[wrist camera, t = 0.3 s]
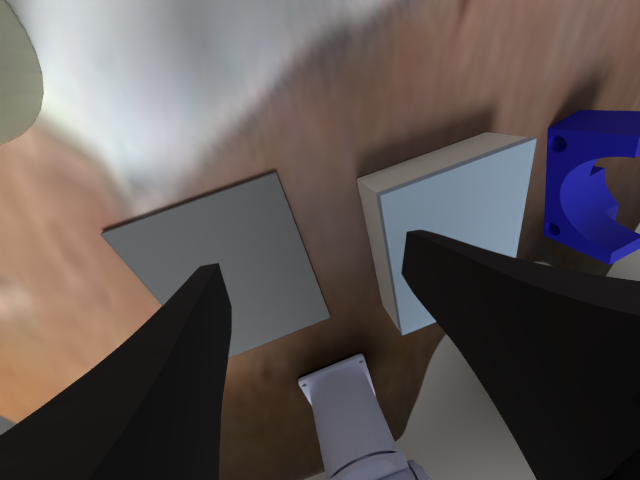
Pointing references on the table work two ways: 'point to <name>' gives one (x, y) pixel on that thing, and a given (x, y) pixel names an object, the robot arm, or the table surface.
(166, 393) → the robot arm
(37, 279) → the table surface
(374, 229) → the tub
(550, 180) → the cable clip
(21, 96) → the reusable coffee cup
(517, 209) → the lid
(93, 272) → the table surface
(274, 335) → the mat
